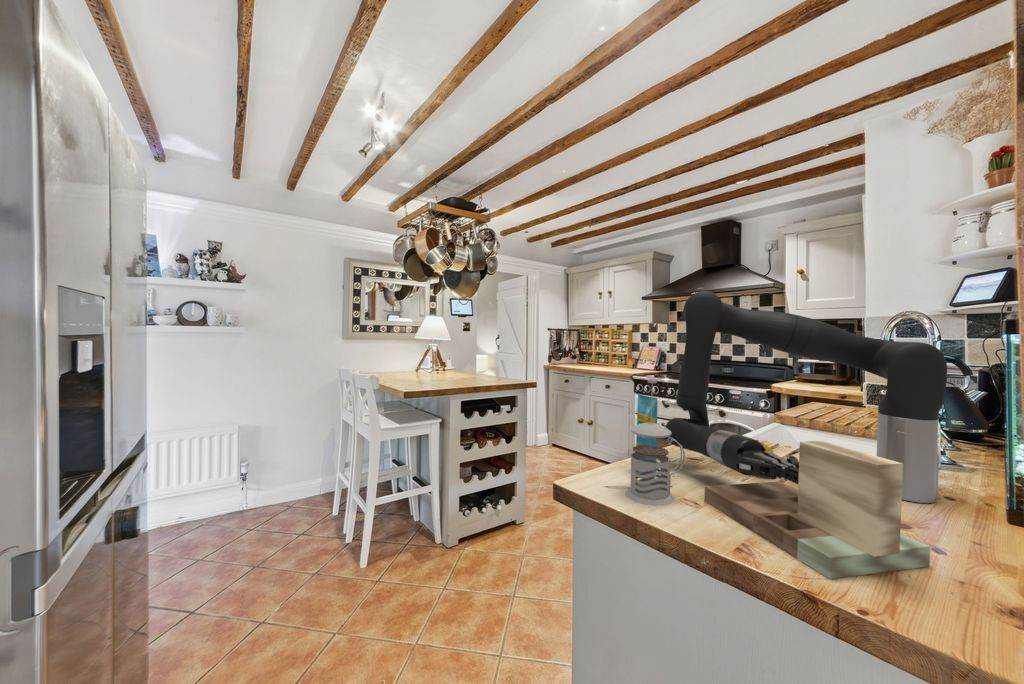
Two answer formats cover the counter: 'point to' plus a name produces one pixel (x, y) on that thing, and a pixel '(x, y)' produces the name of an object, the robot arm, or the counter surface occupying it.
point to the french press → (651, 465)
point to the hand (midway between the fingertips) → (809, 480)
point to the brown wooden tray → (806, 531)
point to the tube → (646, 421)
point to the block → (851, 496)
